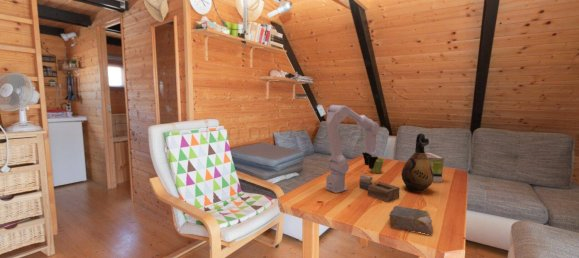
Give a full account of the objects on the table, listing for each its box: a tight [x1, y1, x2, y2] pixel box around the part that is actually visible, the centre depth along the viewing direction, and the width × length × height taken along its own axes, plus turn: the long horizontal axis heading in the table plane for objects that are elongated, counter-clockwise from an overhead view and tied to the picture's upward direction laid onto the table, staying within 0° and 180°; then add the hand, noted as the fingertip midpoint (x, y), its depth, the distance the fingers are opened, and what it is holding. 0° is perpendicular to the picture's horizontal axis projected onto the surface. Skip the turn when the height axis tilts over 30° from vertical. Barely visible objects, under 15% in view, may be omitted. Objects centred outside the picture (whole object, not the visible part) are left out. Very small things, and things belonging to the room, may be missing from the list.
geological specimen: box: [388, 205, 433, 236], centre depth 105 cm, size 11×6×15 cm
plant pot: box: [370, 157, 385, 174], centre depth 178 cm, size 9×9×9 cm
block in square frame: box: [367, 181, 401, 203], centre depth 135 cm, size 10×11×5 cm
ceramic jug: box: [401, 132, 434, 194], centre depth 145 cm, size 17×15×30 cm
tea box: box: [425, 152, 445, 183], centre depth 166 cm, size 15×10×15 cm
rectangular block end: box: [359, 174, 373, 191], centre depth 146 cm, size 2×6×7 cm, turn 38°
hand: (368, 166), depth 154 cm, fingers open, 7 cm apart
